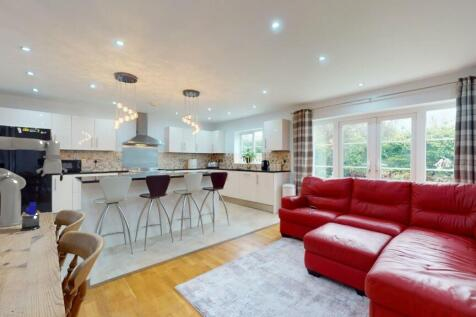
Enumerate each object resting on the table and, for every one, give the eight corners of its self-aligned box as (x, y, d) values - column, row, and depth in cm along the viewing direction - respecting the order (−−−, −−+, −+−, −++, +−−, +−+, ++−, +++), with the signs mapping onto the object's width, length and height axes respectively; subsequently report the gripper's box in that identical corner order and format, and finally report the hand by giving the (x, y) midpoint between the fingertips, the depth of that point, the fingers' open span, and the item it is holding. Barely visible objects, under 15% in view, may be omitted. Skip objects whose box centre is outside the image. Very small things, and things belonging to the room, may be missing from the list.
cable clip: (26, 212, 144) (26, 202, 144) (35, 211, 147) (36, 202, 147) (25, 215, 135) (25, 205, 135) (35, 214, 138) (36, 204, 138)
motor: (20, 228, 140) (20, 211, 141) (39, 226, 147) (39, 209, 147) (21, 232, 134) (21, 214, 134) (40, 229, 141) (41, 211, 141)
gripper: (37, 157, 152) (36, 182, 151) (68, 158, 164) (68, 181, 164) (36, 157, 157) (35, 181, 157) (66, 158, 169) (66, 180, 169)
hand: (52, 181), depth 160 cm, fingers open, 9 cm apart
